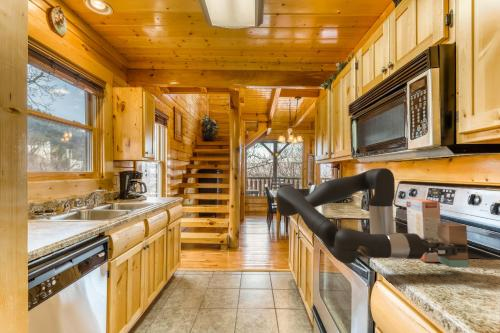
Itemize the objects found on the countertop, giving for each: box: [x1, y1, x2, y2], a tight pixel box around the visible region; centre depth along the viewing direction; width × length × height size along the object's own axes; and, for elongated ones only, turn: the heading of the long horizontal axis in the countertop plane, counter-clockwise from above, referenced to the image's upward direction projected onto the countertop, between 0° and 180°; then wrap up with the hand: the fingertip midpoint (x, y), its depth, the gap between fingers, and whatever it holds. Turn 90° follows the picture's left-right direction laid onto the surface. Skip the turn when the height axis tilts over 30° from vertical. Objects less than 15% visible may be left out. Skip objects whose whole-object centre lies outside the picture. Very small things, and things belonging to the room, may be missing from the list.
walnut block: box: [437, 222, 470, 268], centre depth 79 cm, size 5×5×12 cm
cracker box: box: [406, 198, 441, 263], centre depth 96 cm, size 14×6×21 cm, turn 168°
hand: (459, 246), depth 79 cm, fingers closed on walnut block, 5 cm apart
